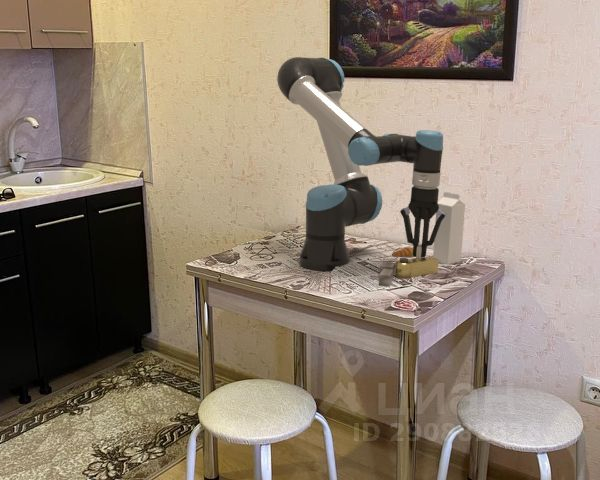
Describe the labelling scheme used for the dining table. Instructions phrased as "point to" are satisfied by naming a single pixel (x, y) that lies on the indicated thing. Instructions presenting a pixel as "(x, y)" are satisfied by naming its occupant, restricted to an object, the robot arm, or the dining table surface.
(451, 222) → the milk
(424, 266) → the latch bar
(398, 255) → the pastry
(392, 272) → the board
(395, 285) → the dining table surface
